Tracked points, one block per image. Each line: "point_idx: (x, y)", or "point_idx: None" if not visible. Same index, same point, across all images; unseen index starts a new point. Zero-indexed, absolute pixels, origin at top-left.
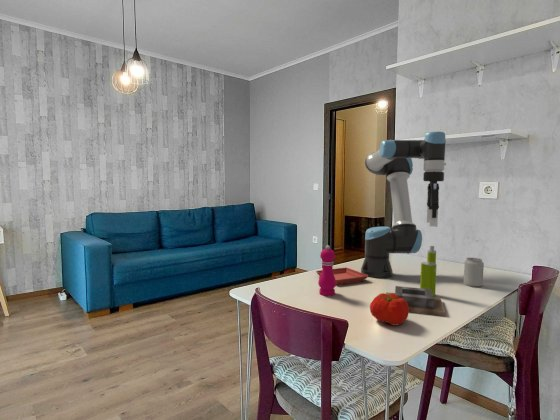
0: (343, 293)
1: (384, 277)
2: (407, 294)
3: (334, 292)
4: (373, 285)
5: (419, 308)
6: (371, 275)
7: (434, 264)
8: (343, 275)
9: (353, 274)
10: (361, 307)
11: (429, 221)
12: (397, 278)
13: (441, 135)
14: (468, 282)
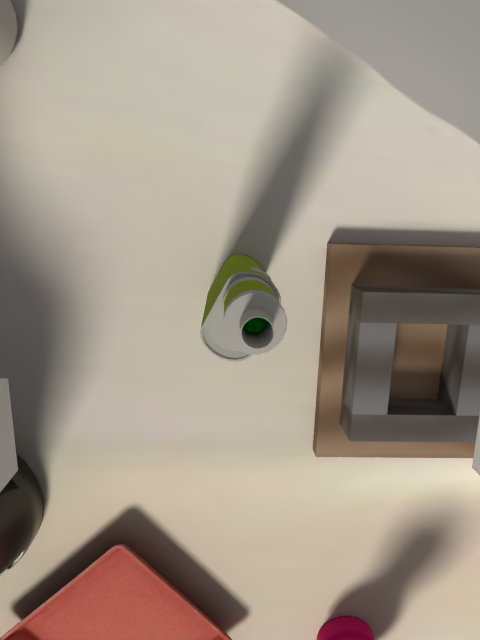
0: (325, 590)
1: (26, 465)
2: (467, 396)
3: (352, 623)
4: (175, 501)
5: None
6: (39, 524)
7: (269, 286)
8: (76, 628)
9: (58, 596)
10: (467, 519)
11: (4, 446)
12: None
13: None
14: (3, 51)
